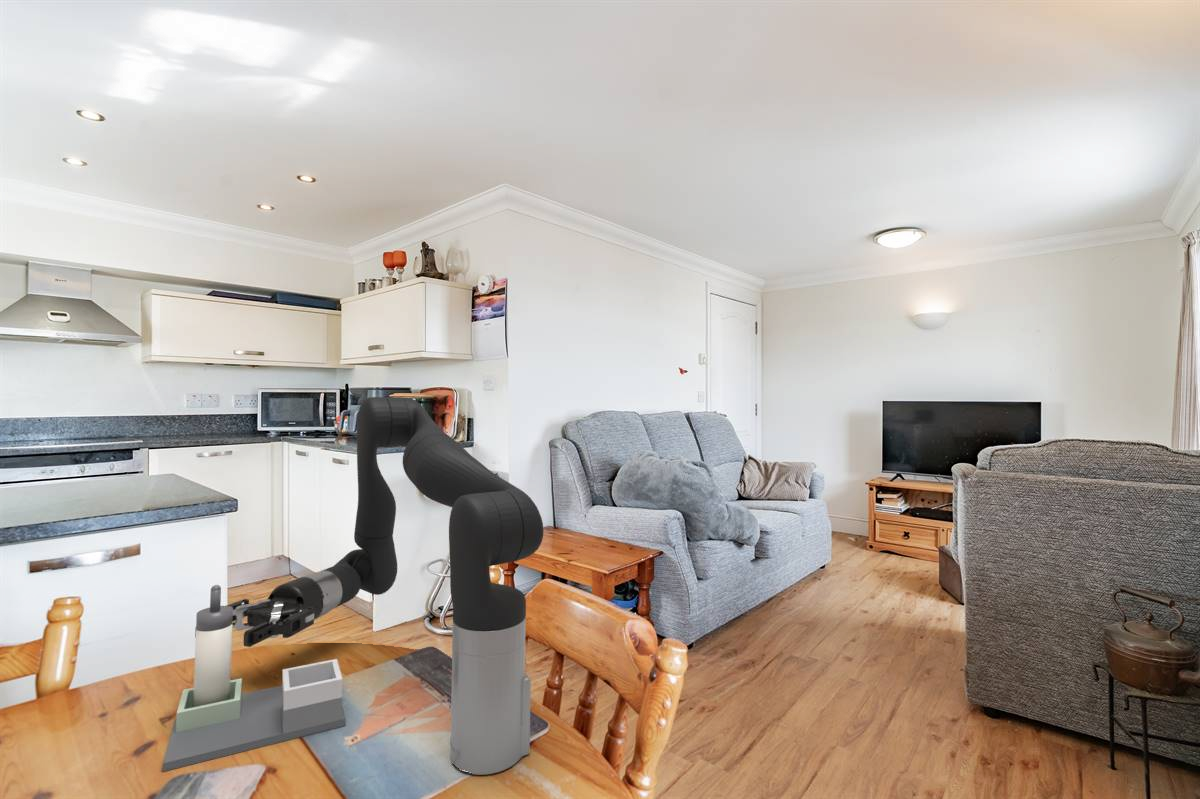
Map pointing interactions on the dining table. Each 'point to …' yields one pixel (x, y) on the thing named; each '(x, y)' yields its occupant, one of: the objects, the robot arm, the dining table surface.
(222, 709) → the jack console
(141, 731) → the dining table surface
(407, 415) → the robot arm
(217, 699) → the plug
